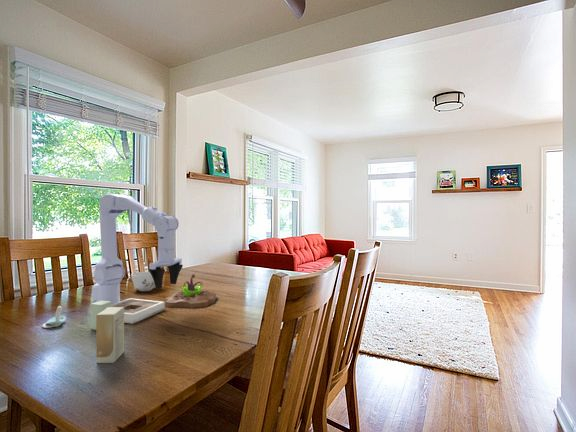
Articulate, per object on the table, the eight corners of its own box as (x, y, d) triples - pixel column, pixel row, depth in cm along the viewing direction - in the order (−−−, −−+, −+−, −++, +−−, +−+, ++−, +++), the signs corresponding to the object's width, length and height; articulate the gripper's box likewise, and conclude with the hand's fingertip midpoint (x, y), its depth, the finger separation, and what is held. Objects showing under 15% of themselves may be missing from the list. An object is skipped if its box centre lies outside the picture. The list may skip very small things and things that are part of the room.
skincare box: (107, 352, 84) (107, 306, 84) (124, 352, 85) (125, 306, 85) (95, 364, 78) (95, 314, 78) (113, 363, 78) (113, 313, 78)
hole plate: (99, 315, 111) (99, 311, 111) (130, 304, 125) (130, 300, 125) (132, 319, 107) (132, 315, 107) (160, 308, 121) (160, 303, 121)
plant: (222, 296, 143) (222, 271, 143) (206, 309, 123) (207, 280, 123) (179, 295, 145) (179, 270, 145) (157, 307, 125) (157, 279, 125)
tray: (94, 318, 111) (95, 309, 111) (129, 305, 126) (129, 298, 126) (133, 323, 106) (133, 314, 106) (164, 309, 121) (164, 301, 121)
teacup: (161, 291, 149) (161, 274, 149) (131, 294, 143) (131, 276, 143) (157, 284, 162) (157, 269, 162) (130, 287, 156) (130, 271, 156)
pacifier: (39, 331, 99) (62, 327, 102) (38, 311, 99) (61, 308, 102) (45, 323, 106) (67, 320, 108) (45, 304, 106) (66, 302, 108)
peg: (90, 329, 101) (90, 303, 101) (101, 324, 105) (101, 300, 105) (100, 330, 100) (100, 304, 100) (111, 326, 104) (111, 301, 104)
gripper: (160, 251, 109) (160, 291, 109) (188, 247, 122) (187, 282, 123) (144, 250, 111) (144, 289, 112) (173, 246, 125) (173, 281, 125)
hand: (166, 285), depth 117 cm, fingers open, 7 cm apart
